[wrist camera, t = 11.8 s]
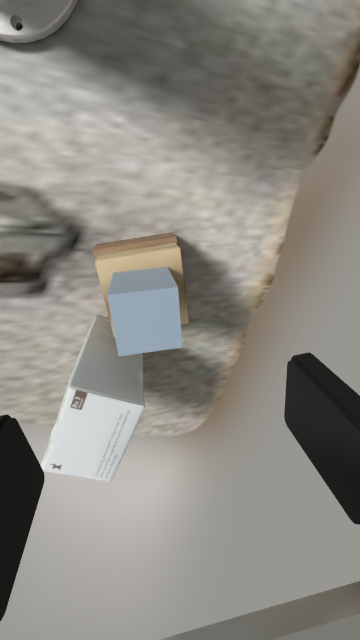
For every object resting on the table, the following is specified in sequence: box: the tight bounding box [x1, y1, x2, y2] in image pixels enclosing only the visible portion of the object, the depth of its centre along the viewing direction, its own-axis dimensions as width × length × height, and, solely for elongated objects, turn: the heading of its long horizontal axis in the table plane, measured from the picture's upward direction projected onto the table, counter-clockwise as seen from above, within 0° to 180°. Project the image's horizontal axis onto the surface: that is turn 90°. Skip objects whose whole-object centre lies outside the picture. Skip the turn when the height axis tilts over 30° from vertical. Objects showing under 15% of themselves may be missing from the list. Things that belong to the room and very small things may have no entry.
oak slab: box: [95, 241, 189, 337], centre depth 26 cm, size 7×7×4 cm
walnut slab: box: [92, 233, 178, 260], centre depth 29 cm, size 8×8×4 cm
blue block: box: [107, 267, 183, 356], centre depth 21 cm, size 4×4×6 cm
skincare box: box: [41, 315, 145, 482], centre depth 27 cm, size 8×6×15 cm
